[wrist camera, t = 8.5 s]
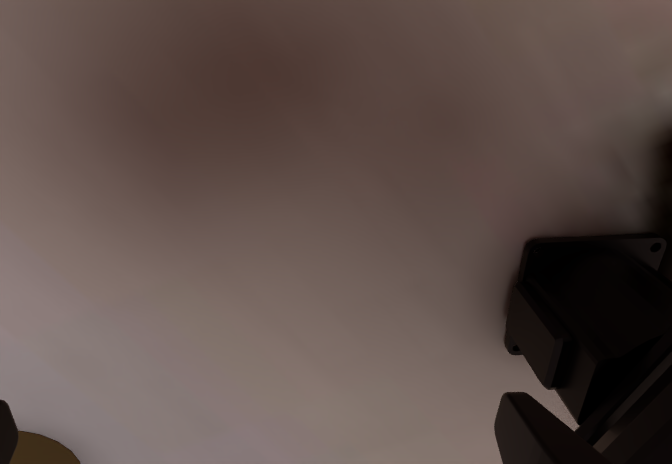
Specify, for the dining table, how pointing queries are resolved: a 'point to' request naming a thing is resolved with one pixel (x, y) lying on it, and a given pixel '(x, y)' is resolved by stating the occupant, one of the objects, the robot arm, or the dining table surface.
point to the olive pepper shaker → (41, 451)
